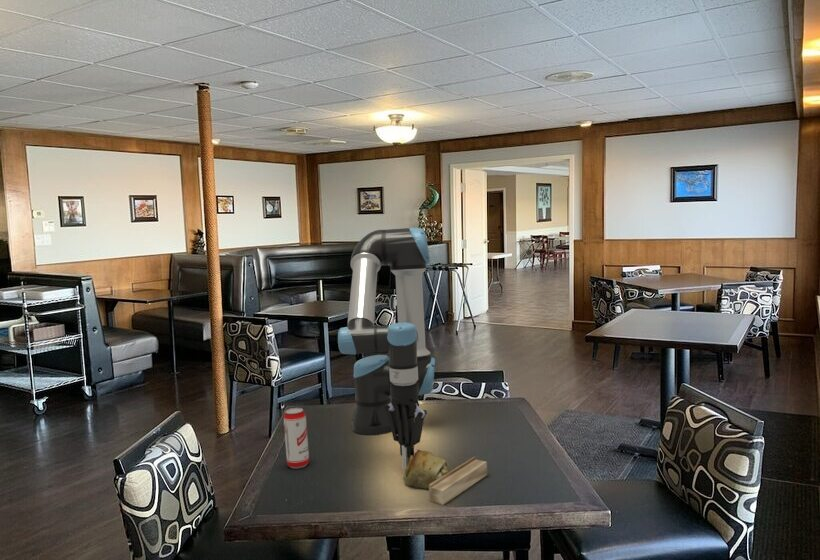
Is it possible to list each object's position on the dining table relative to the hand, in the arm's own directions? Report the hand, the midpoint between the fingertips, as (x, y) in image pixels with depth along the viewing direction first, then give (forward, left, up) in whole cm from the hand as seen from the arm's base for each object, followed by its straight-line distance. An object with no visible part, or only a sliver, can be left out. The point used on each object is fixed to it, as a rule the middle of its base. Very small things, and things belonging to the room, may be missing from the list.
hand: (407, 467), depth 166 cm
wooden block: (+16, 0, -2) cm, 17 cm away
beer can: (-31, -12, -2) cm, 33 cm away
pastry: (+7, -1, -2) cm, 7 cm away
